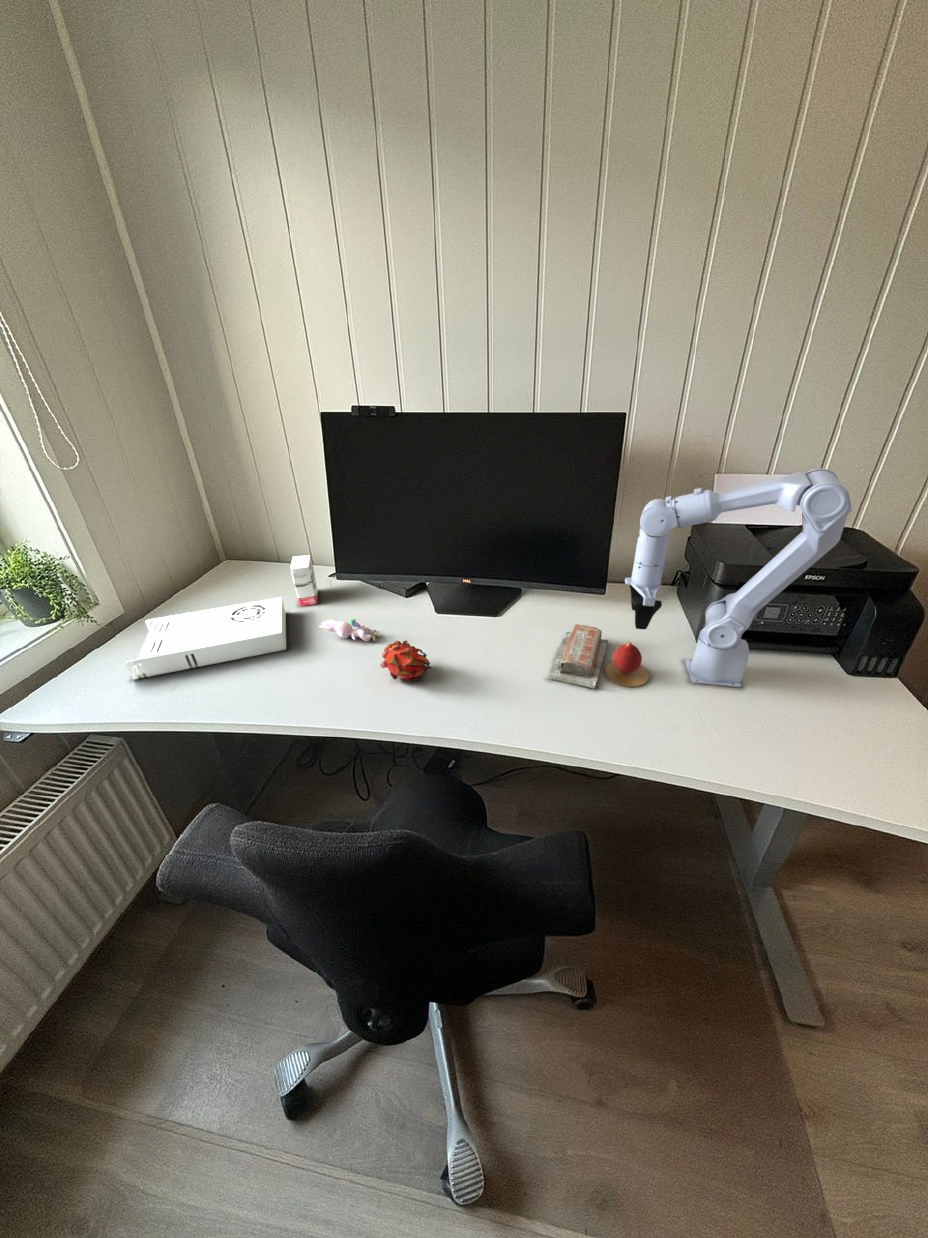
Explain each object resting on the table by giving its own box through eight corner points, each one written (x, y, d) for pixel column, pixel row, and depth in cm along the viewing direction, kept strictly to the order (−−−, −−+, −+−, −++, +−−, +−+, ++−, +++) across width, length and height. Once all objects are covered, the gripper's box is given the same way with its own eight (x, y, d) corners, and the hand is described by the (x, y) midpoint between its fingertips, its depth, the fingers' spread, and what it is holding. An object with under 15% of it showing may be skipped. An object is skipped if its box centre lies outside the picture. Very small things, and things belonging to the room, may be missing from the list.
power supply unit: (152, 636, 123) (144, 620, 120) (285, 612, 131) (281, 596, 129) (133, 680, 108) (124, 662, 105) (286, 649, 116) (281, 632, 113)
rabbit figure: (381, 637, 122) (326, 624, 123) (382, 617, 119) (325, 604, 120) (372, 651, 117) (314, 637, 118) (372, 631, 113) (313, 617, 115)
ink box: (317, 604, 135) (309, 566, 129) (299, 606, 134) (289, 568, 128) (318, 590, 142) (310, 553, 136) (301, 593, 141) (292, 556, 135)
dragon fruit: (384, 670, 110) (429, 689, 107) (366, 671, 102) (415, 691, 98) (396, 635, 110) (442, 653, 106) (379, 633, 102) (429, 652, 98)
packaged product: (567, 619, 114) (610, 627, 111) (565, 636, 117) (607, 644, 114) (549, 662, 100) (597, 671, 97) (547, 680, 103) (595, 690, 99)
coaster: (646, 663, 107) (646, 662, 106) (650, 689, 99) (651, 688, 99) (604, 659, 108) (604, 658, 108) (605, 684, 101) (605, 683, 101)
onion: (633, 664, 106) (639, 633, 102) (642, 680, 101) (649, 649, 97) (607, 665, 106) (612, 634, 102) (615, 681, 101) (620, 650, 97)
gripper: (625, 545, 103) (616, 601, 110) (632, 575, 91) (622, 635, 98) (660, 547, 102) (649, 603, 109) (671, 577, 89) (658, 638, 97)
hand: (638, 618), depth 103 cm, fingers open, 7 cm apart
